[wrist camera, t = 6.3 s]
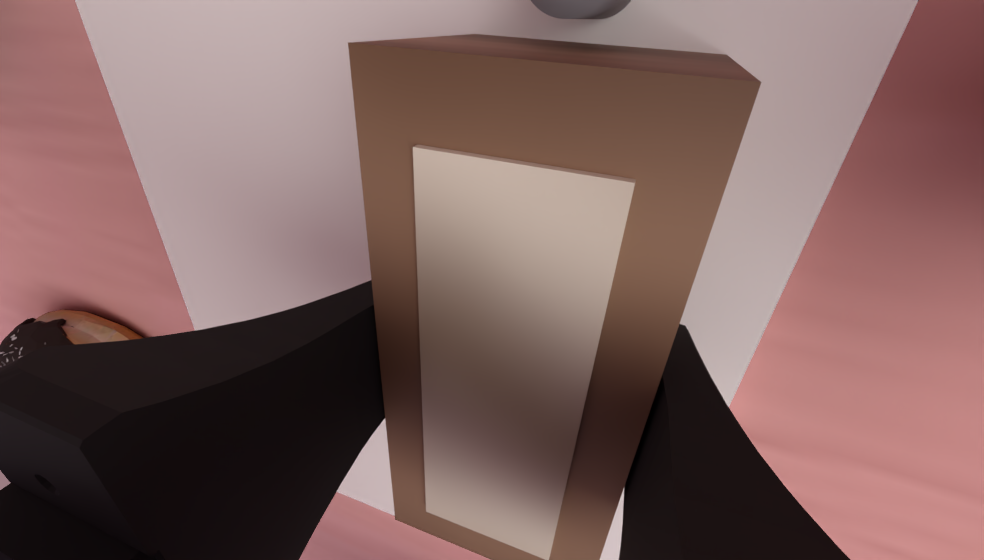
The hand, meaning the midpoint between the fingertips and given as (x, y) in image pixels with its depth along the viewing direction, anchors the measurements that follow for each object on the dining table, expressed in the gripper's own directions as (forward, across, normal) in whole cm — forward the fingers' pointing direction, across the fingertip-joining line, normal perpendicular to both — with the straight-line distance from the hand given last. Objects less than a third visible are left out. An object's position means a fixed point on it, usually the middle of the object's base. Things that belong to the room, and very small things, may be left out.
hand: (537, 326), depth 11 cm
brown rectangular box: (+2, 0, 0) cm, 2 cm away
